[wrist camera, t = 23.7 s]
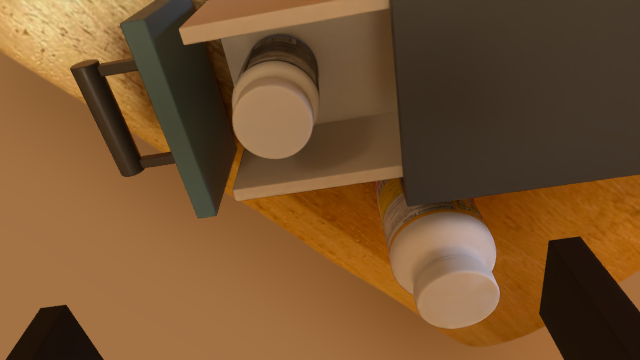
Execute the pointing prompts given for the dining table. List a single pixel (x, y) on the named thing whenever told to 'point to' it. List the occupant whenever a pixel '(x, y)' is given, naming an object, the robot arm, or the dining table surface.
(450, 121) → the drawer cabinet
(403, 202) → the supplement bottle
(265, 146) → the pill bottle
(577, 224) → the dining table surface
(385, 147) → the teal drawer
